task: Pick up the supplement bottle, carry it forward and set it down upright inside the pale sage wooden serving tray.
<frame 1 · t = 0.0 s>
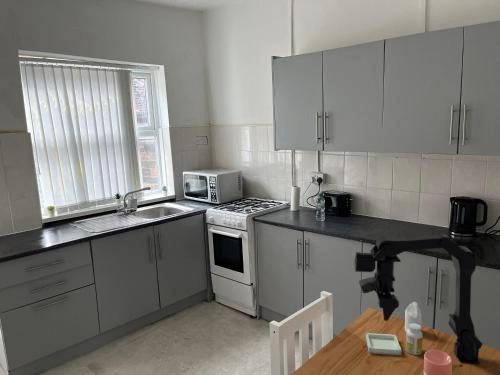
hand: (383, 314, 135), 15 cm above the table, fingers open, 9 cm apart
supplement bottle: (413, 351, 137), on the table
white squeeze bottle: (412, 331, 150), on the table
tray: (382, 346, 140), on the table
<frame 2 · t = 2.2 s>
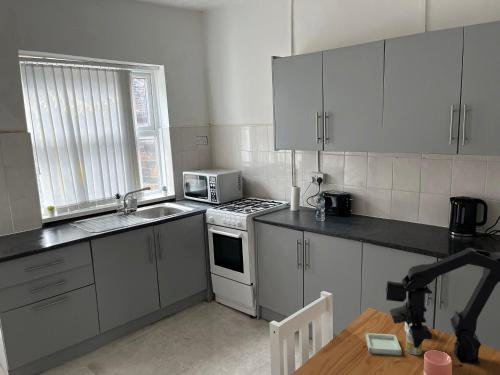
hand: (414, 343, 137), 3 cm above the table, fingers closed on supplement bottle, 5 cm apart
supplement bottle: (413, 351, 137), on the table, touching gripper
everything else where it was.
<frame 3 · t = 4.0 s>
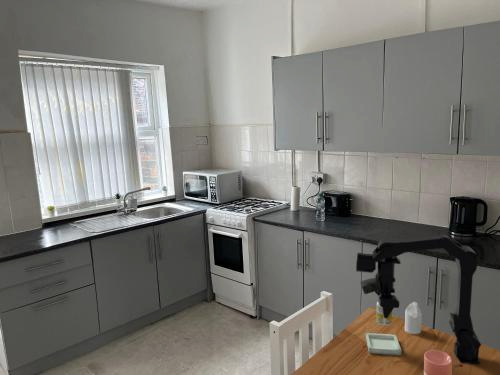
hand: (384, 314, 138), 13 cm above the table, fingers closed on supplement bottle, 5 cm apart
supplement bottle: (383, 322, 139), point 10 cm above the table, touching gripper
everything else where it was.
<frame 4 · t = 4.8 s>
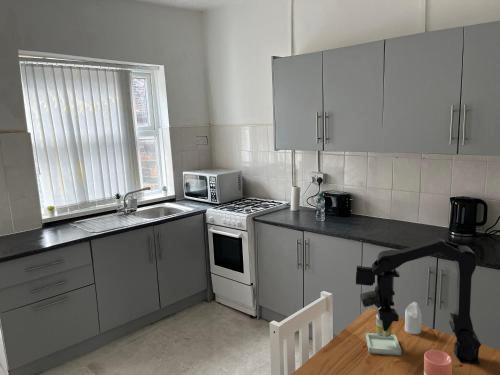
hand: (383, 326, 139), 8 cm above the table, fingers closed on supplement bottle, 5 cm apart
supplement bottle: (383, 334, 139), point 5 cm above the table, touching gripper
everything else where it was.
when the fingers open (5 cm above the table, at t = 5.7 s): supplement bottle drops 2 cm, resting on tray.
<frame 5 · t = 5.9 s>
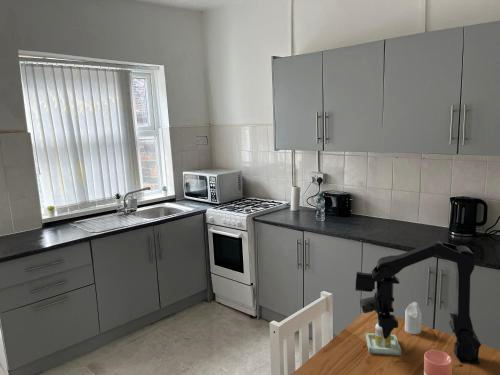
hand: (383, 332, 139), 5 cm above the table, fingers open, 7 cm apart
supplement bottle: (382, 345, 140), resting on tray
everything else where it was.
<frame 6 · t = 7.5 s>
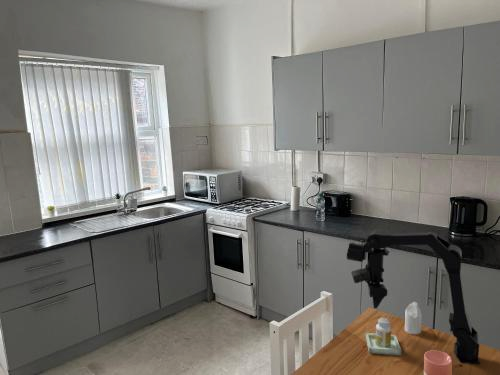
hand: (373, 302, 146), 13 cm above the table, fingers open, 9 cm apart
nothing on the table moved.
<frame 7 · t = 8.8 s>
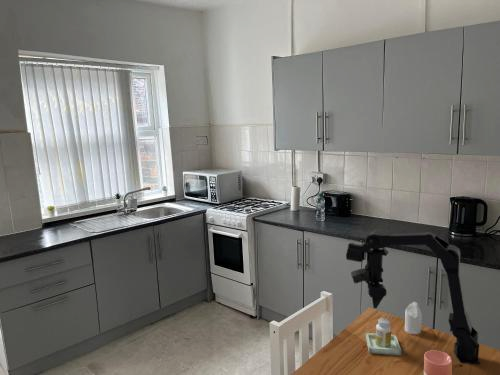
hand: (373, 302, 147), 13 cm above the table, fingers open, 9 cm apart
nothing on the table moved.
at the end: supplement bottle inside the target area on the tray (0.1 cm from its centre), point 0.4 cm above the tray's base; supplement bottle tilted 0°; the gripper is holding nothing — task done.
